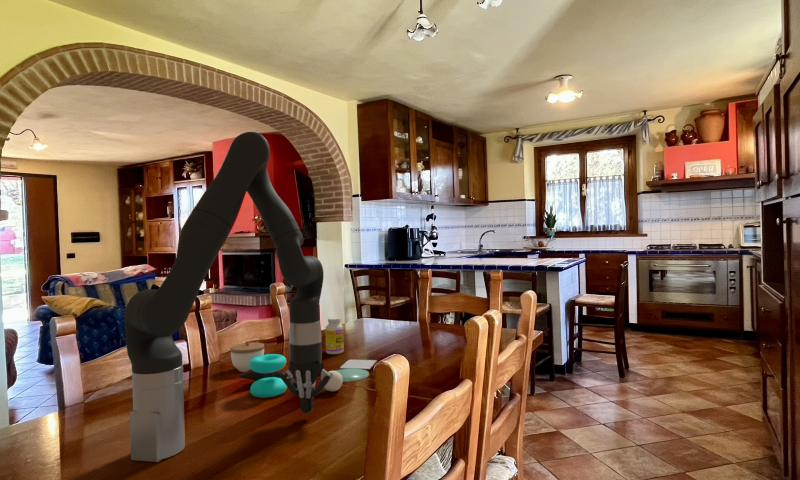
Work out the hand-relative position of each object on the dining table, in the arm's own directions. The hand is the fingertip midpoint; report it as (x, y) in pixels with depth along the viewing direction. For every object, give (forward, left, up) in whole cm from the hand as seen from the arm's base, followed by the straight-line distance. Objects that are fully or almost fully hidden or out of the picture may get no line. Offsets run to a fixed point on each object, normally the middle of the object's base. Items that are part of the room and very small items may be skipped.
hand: (307, 412), depth 110 cm
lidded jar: (+37, +36, -2) cm, 52 cm away
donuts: (+16, +18, -2) cm, 24 cm away
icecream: (+24, +24, -2) cm, 34 cm away
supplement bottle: (+61, +14, -2) cm, 63 cm away
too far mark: (+46, 0, -2) cm, 46 cm away
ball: (+20, 0, +1) cm, 20 cm away
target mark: (+34, 0, -2) cm, 34 cm away
